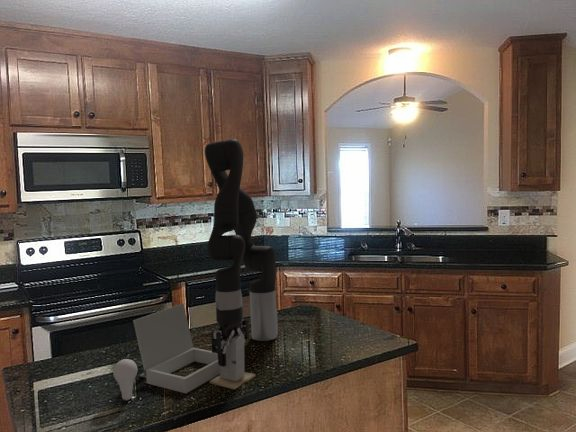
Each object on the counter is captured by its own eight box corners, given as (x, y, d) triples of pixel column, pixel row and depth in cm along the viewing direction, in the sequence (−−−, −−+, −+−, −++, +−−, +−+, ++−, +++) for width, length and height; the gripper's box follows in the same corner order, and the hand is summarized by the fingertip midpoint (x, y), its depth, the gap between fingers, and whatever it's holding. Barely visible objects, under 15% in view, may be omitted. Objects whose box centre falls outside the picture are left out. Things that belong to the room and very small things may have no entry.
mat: (231, 370, 147) (230, 368, 147) (255, 376, 142) (255, 374, 142) (209, 383, 138) (209, 381, 138) (234, 389, 134) (234, 387, 134)
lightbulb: (142, 394, 133) (139, 355, 132) (135, 404, 127) (133, 363, 126) (119, 395, 133) (116, 356, 132) (112, 406, 127) (109, 364, 126)
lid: (193, 347, 157) (190, 347, 158) (183, 303, 157) (180, 303, 158) (145, 369, 140) (142, 370, 141) (134, 320, 140) (131, 320, 141)
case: (194, 359, 157) (193, 347, 157) (231, 367, 149) (230, 354, 149) (146, 383, 140) (145, 369, 140) (185, 393, 132) (185, 379, 132)
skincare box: (219, 378, 140) (217, 337, 139) (229, 372, 144) (227, 332, 143) (237, 382, 137) (235, 339, 136) (246, 376, 141) (244, 335, 140)
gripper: (233, 298, 147) (236, 350, 148) (202, 310, 134) (205, 367, 136) (254, 300, 143) (256, 354, 144) (223, 313, 131) (226, 372, 132)
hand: (231, 360), depth 140 cm, fingers open, 8 cm apart
